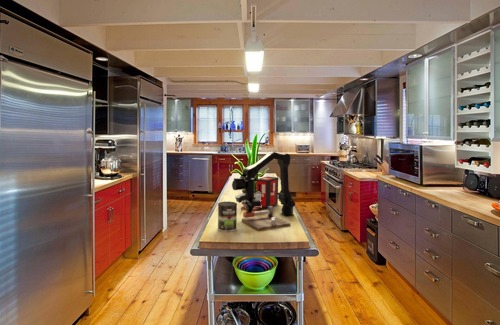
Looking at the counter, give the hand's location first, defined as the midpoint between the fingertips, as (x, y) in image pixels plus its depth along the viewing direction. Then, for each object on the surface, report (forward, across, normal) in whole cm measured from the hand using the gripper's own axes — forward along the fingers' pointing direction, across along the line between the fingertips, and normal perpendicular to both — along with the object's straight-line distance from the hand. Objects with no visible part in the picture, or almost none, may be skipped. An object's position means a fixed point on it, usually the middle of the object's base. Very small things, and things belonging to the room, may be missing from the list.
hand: (249, 214), depth 186 cm
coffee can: (+4, +10, -18) cm, 21 cm away
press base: (+3, +9, +6) cm, 12 cm away
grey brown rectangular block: (+2, +16, +7) cm, 18 cm away
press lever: (+2, +3, +5) cm, 6 cm away
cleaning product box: (+4, -27, +28) cm, 39 cm away
